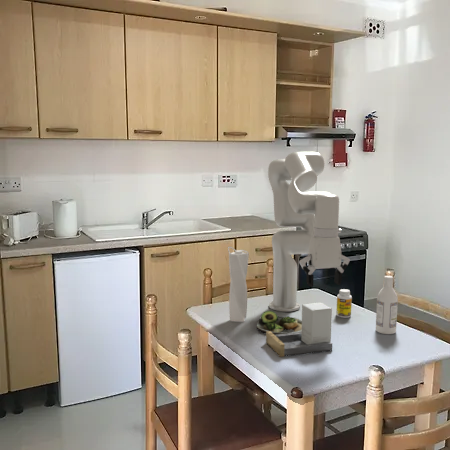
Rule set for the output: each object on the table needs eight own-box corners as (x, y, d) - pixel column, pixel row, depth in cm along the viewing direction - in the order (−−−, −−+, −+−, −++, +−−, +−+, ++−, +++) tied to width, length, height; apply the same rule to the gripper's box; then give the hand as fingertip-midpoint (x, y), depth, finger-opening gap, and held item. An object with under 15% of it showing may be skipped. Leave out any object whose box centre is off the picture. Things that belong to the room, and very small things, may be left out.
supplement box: (331, 345, 163) (332, 308, 161) (310, 348, 161) (312, 310, 159) (320, 337, 170) (321, 301, 168) (300, 340, 168) (301, 303, 166)
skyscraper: (225, 321, 187) (226, 248, 183) (228, 315, 194) (229, 244, 190) (246, 323, 186) (247, 248, 181) (248, 316, 193) (249, 245, 189)
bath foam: (396, 329, 180) (399, 275, 177) (395, 335, 174) (399, 279, 171) (376, 327, 182) (378, 273, 180) (374, 333, 176) (377, 278, 173)
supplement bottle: (337, 318, 192) (338, 292, 191) (335, 313, 198) (336, 288, 196) (351, 318, 191) (353, 292, 190) (350, 314, 197) (351, 288, 195)
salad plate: (312, 322, 188) (312, 310, 188) (310, 339, 171) (310, 326, 170) (261, 318, 192) (261, 306, 192) (254, 334, 175) (254, 322, 174)
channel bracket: (265, 342, 167) (266, 331, 166) (315, 337, 172) (315, 326, 171) (279, 357, 155) (280, 344, 155) (332, 351, 160) (332, 339, 160)
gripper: (344, 230, 166) (342, 280, 169) (296, 232, 162) (294, 283, 164) (356, 233, 159) (353, 286, 161) (305, 235, 154) (303, 289, 157)
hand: (323, 284), depth 163 cm, fingers open, 9 cm apart
